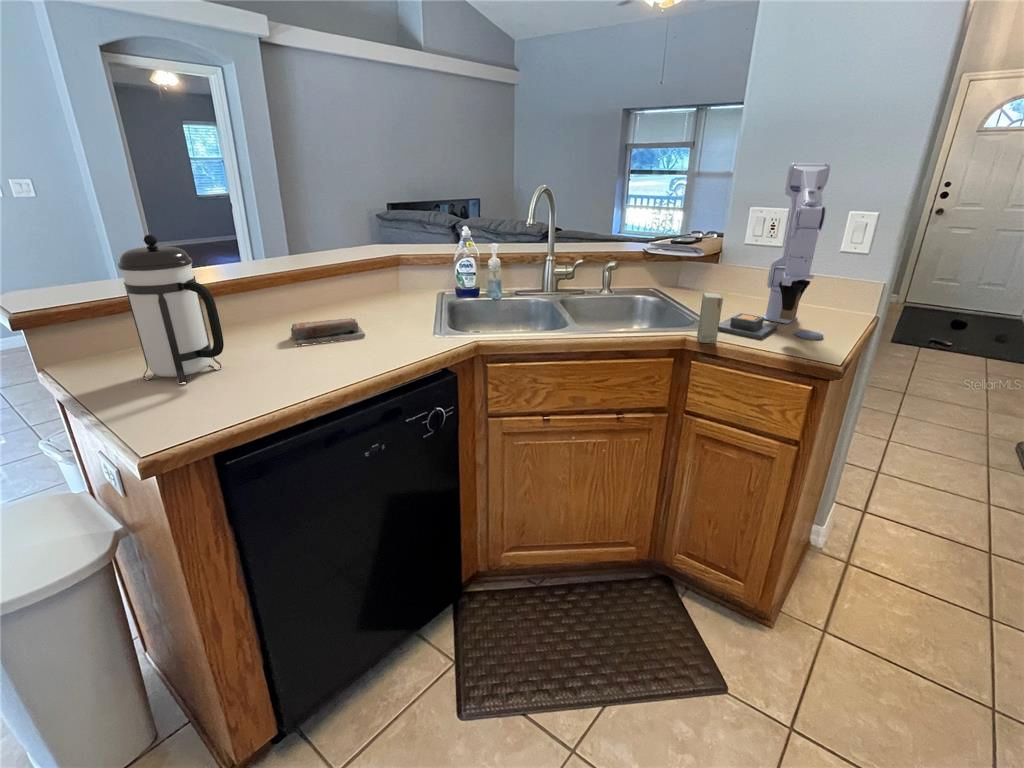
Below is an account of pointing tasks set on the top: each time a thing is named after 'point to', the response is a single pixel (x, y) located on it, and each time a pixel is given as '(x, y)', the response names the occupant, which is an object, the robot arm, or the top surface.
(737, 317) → the orange button
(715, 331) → the skincare box
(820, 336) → the coaster
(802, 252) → the robot arm
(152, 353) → the coffee press
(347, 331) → the packaged product
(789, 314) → the brown wooden block
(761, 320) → the grey square socket base
